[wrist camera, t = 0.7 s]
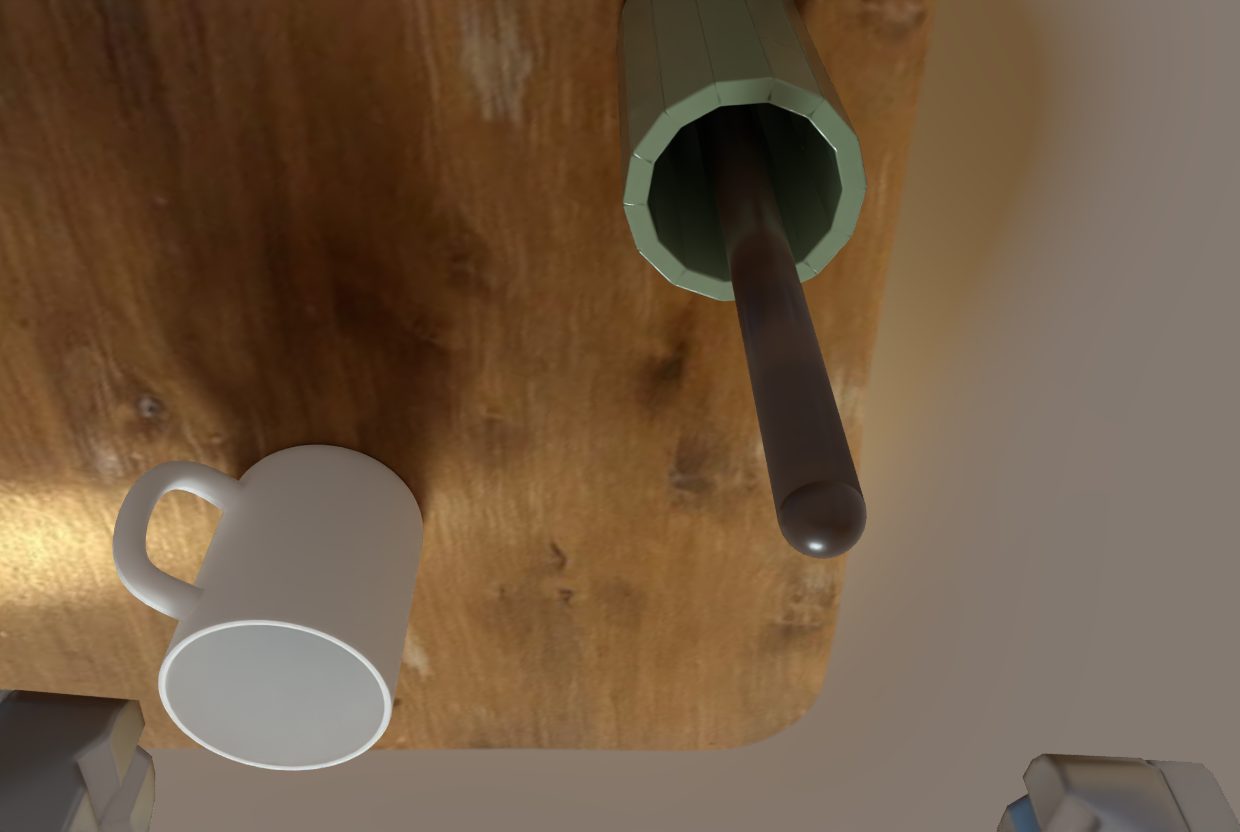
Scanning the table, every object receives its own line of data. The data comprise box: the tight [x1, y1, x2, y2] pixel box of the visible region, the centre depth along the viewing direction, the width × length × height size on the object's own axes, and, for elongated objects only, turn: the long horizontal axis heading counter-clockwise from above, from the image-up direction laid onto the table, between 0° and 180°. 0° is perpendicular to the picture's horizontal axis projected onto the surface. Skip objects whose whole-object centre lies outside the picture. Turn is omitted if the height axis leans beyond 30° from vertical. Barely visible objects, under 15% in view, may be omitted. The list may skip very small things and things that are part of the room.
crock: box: [616, 0, 867, 301], centre depth 32 cm, size 6×6×12 cm
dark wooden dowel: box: [700, 104, 867, 558], centre depth 27 cm, size 2×1×24 cm, turn 4°
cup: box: [113, 445, 423, 770], centre depth 44 cm, size 8×12×10 cm
